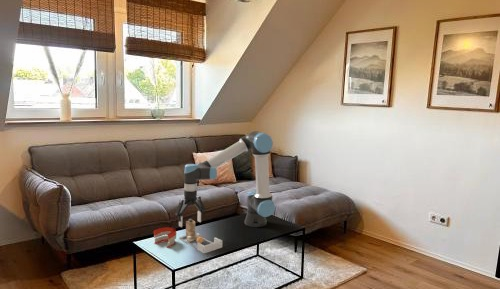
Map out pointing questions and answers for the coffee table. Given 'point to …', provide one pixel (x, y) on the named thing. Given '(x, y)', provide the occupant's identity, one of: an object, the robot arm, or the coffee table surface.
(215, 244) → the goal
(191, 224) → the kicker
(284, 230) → the coffee table surface
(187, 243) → the rails
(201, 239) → the ball
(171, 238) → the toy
